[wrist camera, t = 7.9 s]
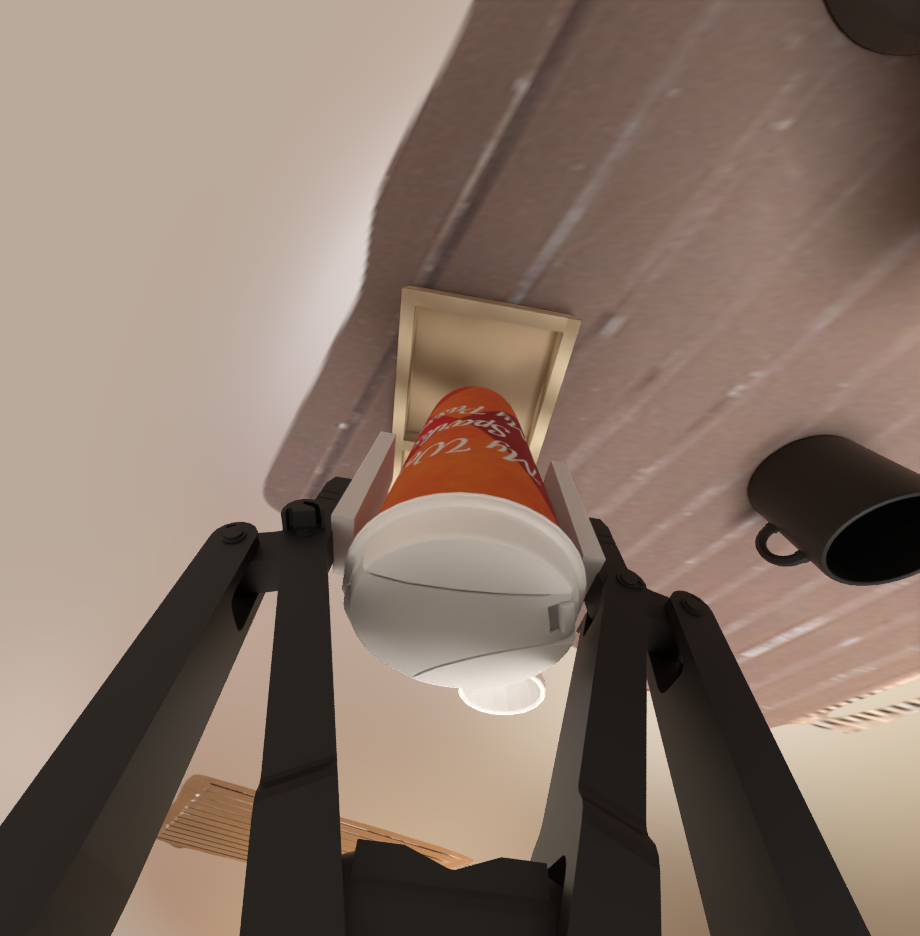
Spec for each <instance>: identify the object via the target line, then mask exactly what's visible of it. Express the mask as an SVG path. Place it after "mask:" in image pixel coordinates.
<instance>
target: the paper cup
mask: <svg viewBox="0 0 920 936" xmlns="http://www.w3.org/2000/svg"><path fill="white" fill-rule="evenodd" d="M586 584H587V581H586V573H585V567H584V564H583V562H582V559H581V556H580V553H579V552H578V550H577V549H576V547H575V545H574V544H573V542H572V541H571V539H570V538H569V537H568V536H567V535H566V534H565V533H564V532H563V531H562V530H561V529H560V526H559V523H558V521H557V518H556V515H555V512H554V509H553V506H552V503H551V501H550V498H549V496H548V493H547V491H546V489H545V486H544V484H543V481H542V479H541V477H540V474H539V472H538V469H537V467H536V465H535V462H534V459H533V457H532V454H531V452H530V449H529V446H528V444H527V441H526V438H525V436H524V433H523V431H522V428H521V426H520V423H519V421H518V419H517V416H516V414H515V412H514V410H513V408H512V407H511V405H510V404H509V403H508V402H507V401H506V399H505V398H503V397H502V396H501V395H500V394H498V393H497V392H495V391H493V390H490V389H488V388H484V387H478V386H469V387H462V388H459V389H456V390H454V391H452V392H450V393H448V394H447V395H446V396H444V397H443V398H442V399H441V400H440V401H439V402H438V403H437V405H436V406H435V408H434V409H433V411H432V412H431V414H430V416H429V417H428V419H427V421H426V423H425V425H424V427H423V429H422V430H421V432H420V434H419V436H418V438H417V440H416V442H415V444H414V446H413V448H412V450H411V451H410V453H409V455H408V457H407V459H406V461H405V463H404V465H403V467H402V469H401V471H400V473H399V475H398V477H397V479H396V481H395V482H394V484H393V486H392V488H391V490H390V492H389V494H388V496H387V498H386V500H385V502H384V504H383V506H382V508H381V510H380V512H379V514H378V515H377V516H376V517H374V518H373V519H372V520H371V521H369V522H368V523H367V524H366V525H365V526H364V527H363V528H362V529H361V531H360V532H359V533H358V534H357V535H356V537H355V539H354V540H353V542H352V544H351V546H350V547H349V550H348V553H347V556H346V560H345V567H344V578H343V585H342V589H343V592H344V595H345V596H344V609H345V612H346V614H347V617H348V618H349V620H350V622H351V624H352V626H353V629H354V631H355V633H356V635H357V636H358V638H359V640H360V641H361V643H362V644H363V645H364V646H365V648H366V649H367V650H368V651H369V652H370V653H371V654H372V655H373V656H375V657H376V658H377V659H378V660H380V661H381V662H383V663H384V664H386V665H388V666H389V667H391V668H393V669H395V670H396V671H398V672H400V673H402V674H404V675H406V676H408V677H410V678H412V679H415V680H418V681H421V682H425V683H429V684H433V685H438V686H444V687H452V688H462V689H481V688H493V687H499V686H505V685H510V684H513V683H517V682H521V681H524V680H526V679H529V678H531V677H534V676H536V675H538V674H540V673H542V672H544V671H545V670H547V669H549V668H550V667H551V666H553V665H554V664H555V663H557V662H558V661H559V660H560V659H561V658H562V657H563V656H564V655H565V654H566V653H567V652H568V650H569V648H570V647H571V645H572V644H573V641H574V639H575V631H574V630H575V623H576V620H577V617H578V614H579V612H580V609H581V606H582V604H583V601H584V598H585V592H586Z"/></svg>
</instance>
